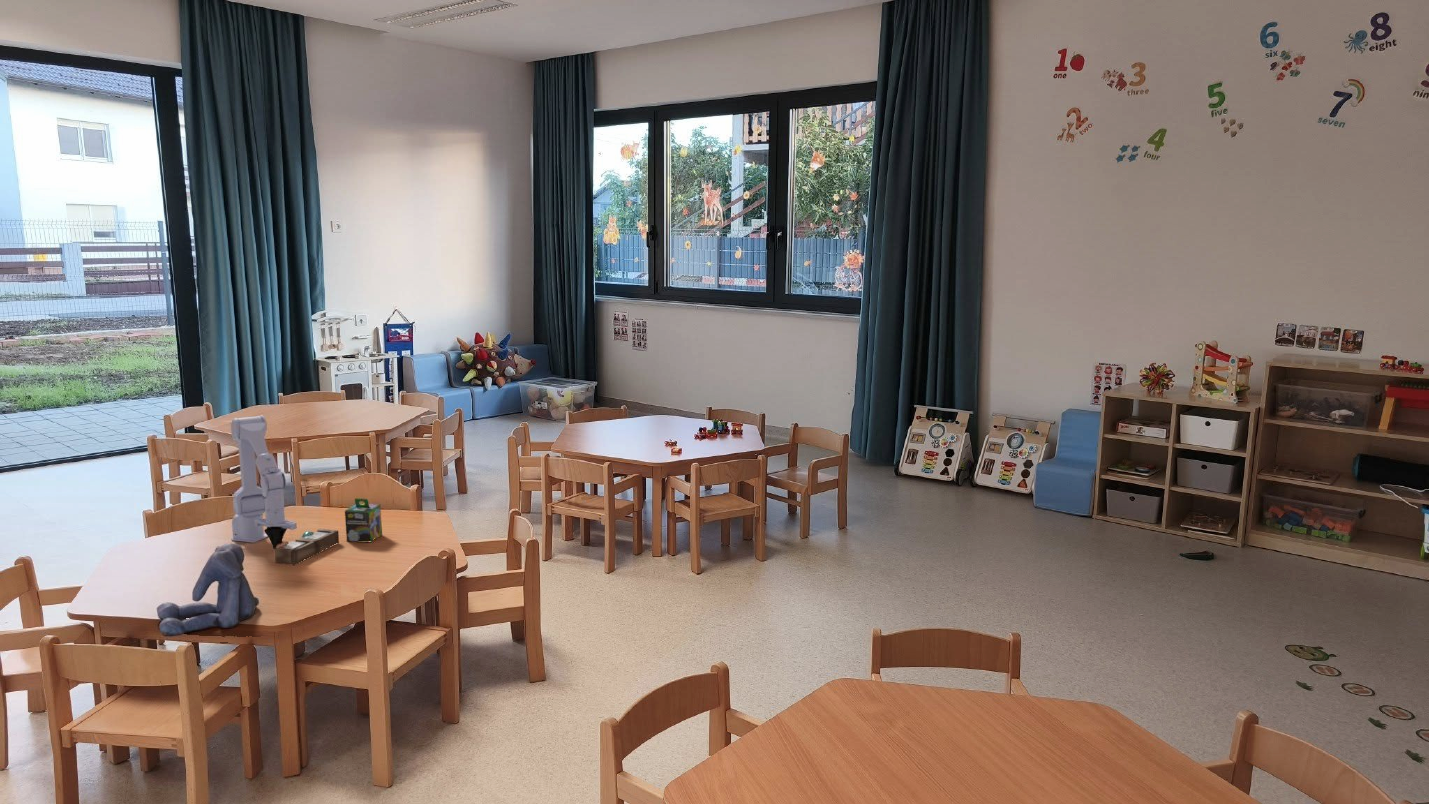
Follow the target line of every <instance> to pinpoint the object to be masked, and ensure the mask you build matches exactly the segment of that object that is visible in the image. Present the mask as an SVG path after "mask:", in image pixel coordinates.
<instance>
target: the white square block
mask: <svg viewBox="0 0 1429 804" xmlns="http://www.w3.org/2000/svg"><path fill="white" fill-rule="evenodd" d="M305 544H306V543H303V542H295V541H292V540H291V541H289V542H288V541H286V540H282V541H280V542H279V543H278V544H277V546H276V548H285V549H296V548H298V547H300V546H303V545H305Z"/></svg>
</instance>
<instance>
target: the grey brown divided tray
mask: <svg viewBox="0 0 1429 804" xmlns="http://www.w3.org/2000/svg"><path fill="white" fill-rule="evenodd" d="M316 532H324V533H329V534H326V535H324V536H322V537H320V538H318V539H311V538H302V536H301V537H299V538H296V539H295V541H294V542H303V543H306V544H305V545H303V546H300V547H298V548H296V549H285V548H276V549H274V560H275V563H276V564H281V565H283V564H284V565H290V564H292V566H296V565H298V564H300V563H301V561H302V562H304V561H305V560H304V559H306V560H308V559H310V558H312V557H314V556H316V555H318V554H320V553H322V552H321V551H322V550H325V549H326V548H329V547H330V546H332V545H334V544H336V543H340V540H339V539H340V538H339V535H340V534H339V530H335V529H326V528H319V529H317V530H316ZM329 549H330V548H329ZM325 551H326V550H325ZM319 552H320V553H319ZM317 553H318V554H317ZM313 555H314V556H313ZM311 556H312V557H311ZM309 557H310V558H309ZM307 558H308V559H307ZM303 560H304V561H303ZM299 562H300V563H299ZM295 564H296V565H295Z"/></svg>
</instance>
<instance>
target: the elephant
mask: <svg viewBox="0 0 1429 804" xmlns="http://www.w3.org/2000/svg"><path fill="white" fill-rule="evenodd" d="M244 561H245V552H244V549H243V548H242V546H241V545H239V544H237V543H233V542H232V543H231V542H230V543H226V544H225V543H224V544H223V545H221V546H216V547H215V550H214V552H213V553H212V554H211V555H210V557H209V558H208V560H207V561H206V563H205V564H204V566H203V568H202V569H201V572H200V575H199V577H198V578H197V581H196V582H195V585H194V587H193V589H192V599H191V600H192V601H194V603H187V604H184V605H183V604H182V605H178V604H176V603H173V602H164V603H161V604H159V605H158V606H157V607H156V612H157V614H156V615H157V616H158V619H159V620H160V621H161V622H160V623H159V625H158V626H159V631H160V633H161V635H162V636H163V637H177V636H182V635H184V634H187V633H191V632H192V633H193V632H197V631H201V630H205V629H210V628H216V627H219V628H223V629H229V628H234V627H236V626H237V625H239V622H241V621H244V620H246V619H249V618H250V617H252V616H253V615H254V614H255V609H256V607H257V606H258V605H259V604H260V600H259V598H258V597H257V596H254V593H253V591H252V589H251V586H250V584H249V581H248V579H247V577H246V575H245V573H244V572H243V571H244V569H245V568H244V565H243V564H244ZM215 582H217V583H218V584H217V592H216V593H217V598H216V604H213V603H210V602H199V601H201V600H202V599H203V598H204V597H205V595H206V593H207V592H208V590H209V588H210V587H211V585H212V584H213V583H215ZM186 618H189V619H186ZM181 619H185V620H181Z"/></svg>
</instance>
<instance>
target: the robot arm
mask: <svg viewBox="0 0 1429 804" xmlns="http://www.w3.org/2000/svg"><path fill="white" fill-rule="evenodd" d="M267 423H268V422H267V419H266V417H264V415H261V414H260V415H258V416H257V415H256V416H247V417H239V418H237V417H235V418H233V419H232V421H231V422H230V430H231V437H232V441H236V442H237V446H238V456H239V469H240V481H241V482H240V483H241V486H240V487H239V488H238V489H237V490H236V491H235V492H234V493H233V501H232V507H233V513H234V516H232V520H231V528H232V538H231V541H234V542H235V541H237V542H244V543H257V542H260V541H261V540H264V539H266V538H268V539H269V541H270V543H271V546H272V549H273V550H275V549H276V546H277V544H278V543H279V542H280V541H283V538H284V535H285V534H286V531H287V530H291V531H293V530H296V529H297V522H294V521H291V520H287V519H286V516H285V515H286V514H285V499H284V496H285V495H284V489H285V488H286V485H287V484H286V483H287V481H286V476H285V473H284V471H282V470H281V469H280V468H279V467H278V464H277V461H276V459H275V456H274V455H273V454H271V453H269V450H268V449H269V448H268V447H267V442H266V439H265V437H266V433H267V430H268V424H267ZM257 470H258V473H259V476H260V482H259V483H260V486H258V479H257V478H258V477H257ZM263 514H265V515H264V516H265V518H263V517H264V516H263ZM264 527H266V528H264Z"/></svg>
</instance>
